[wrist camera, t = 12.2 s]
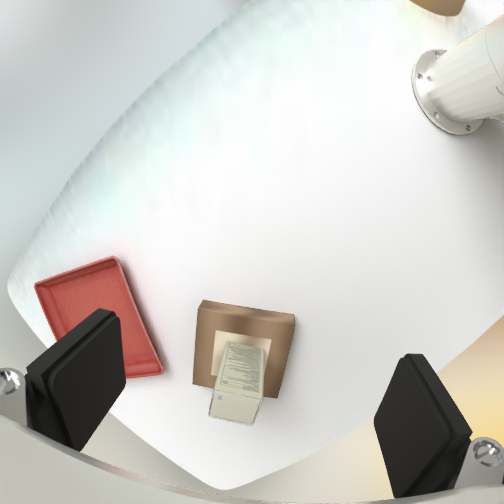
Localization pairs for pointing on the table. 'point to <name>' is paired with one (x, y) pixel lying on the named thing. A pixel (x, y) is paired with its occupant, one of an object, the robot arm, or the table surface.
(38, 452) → the robot arm
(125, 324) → the plant saucer
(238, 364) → the skincare box
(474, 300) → the table surface
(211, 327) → the base slab
